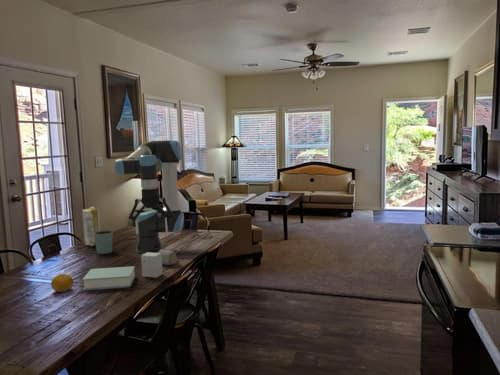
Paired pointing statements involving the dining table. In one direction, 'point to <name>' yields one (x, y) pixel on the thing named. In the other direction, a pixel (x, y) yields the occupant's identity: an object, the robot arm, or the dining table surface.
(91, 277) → the book
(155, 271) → the small box
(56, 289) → the fruit
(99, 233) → the teal cup
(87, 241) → the juice carton
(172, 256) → the ceramic mug
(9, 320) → the dining table surface
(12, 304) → the dining table surface
